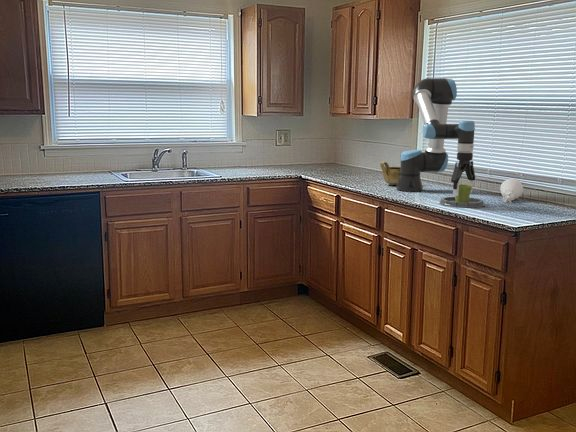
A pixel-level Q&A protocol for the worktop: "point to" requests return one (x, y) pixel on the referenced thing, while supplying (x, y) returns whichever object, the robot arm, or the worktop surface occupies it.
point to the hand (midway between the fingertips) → (462, 194)
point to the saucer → (471, 203)
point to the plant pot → (463, 193)
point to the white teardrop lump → (511, 190)
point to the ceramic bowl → (390, 173)
